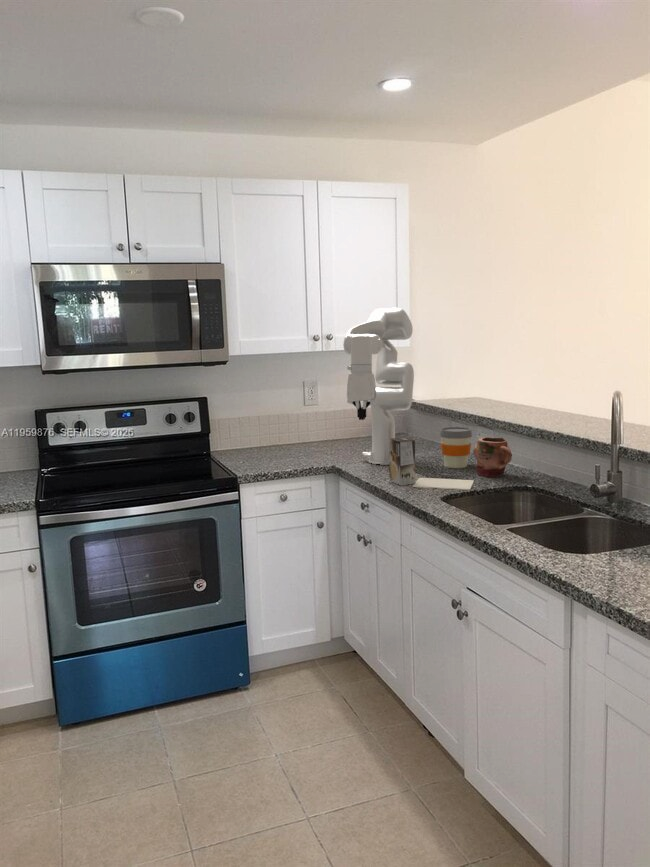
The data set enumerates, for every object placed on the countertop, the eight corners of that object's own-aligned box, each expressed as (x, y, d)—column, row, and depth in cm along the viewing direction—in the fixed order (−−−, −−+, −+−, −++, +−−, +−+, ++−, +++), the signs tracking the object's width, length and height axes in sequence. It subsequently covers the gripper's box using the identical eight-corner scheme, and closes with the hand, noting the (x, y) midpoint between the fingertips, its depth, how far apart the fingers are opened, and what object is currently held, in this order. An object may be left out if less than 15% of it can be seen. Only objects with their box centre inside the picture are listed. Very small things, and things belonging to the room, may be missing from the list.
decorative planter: (524, 478, 263) (525, 441, 261) (500, 482, 257) (501, 444, 255) (486, 469, 280) (487, 434, 278) (463, 472, 274) (463, 437, 272)
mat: (412, 487, 252) (412, 486, 252) (419, 479, 265) (419, 477, 265) (469, 490, 246) (469, 488, 246) (474, 481, 259) (474, 480, 259)
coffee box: (416, 484, 257) (416, 440, 255) (400, 486, 255) (400, 441, 252) (403, 479, 265) (403, 436, 263) (388, 481, 263) (388, 438, 261)
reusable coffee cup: (446, 461, 296) (446, 426, 294) (475, 464, 290) (476, 428, 287) (435, 467, 285) (435, 430, 283) (465, 470, 279) (465, 432, 277)
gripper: (338, 369, 257) (339, 420, 259) (379, 369, 252) (379, 421, 255) (344, 368, 264) (345, 417, 266) (383, 368, 259) (384, 418, 262)
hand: (361, 419), depth 261 cm, fingers closed
